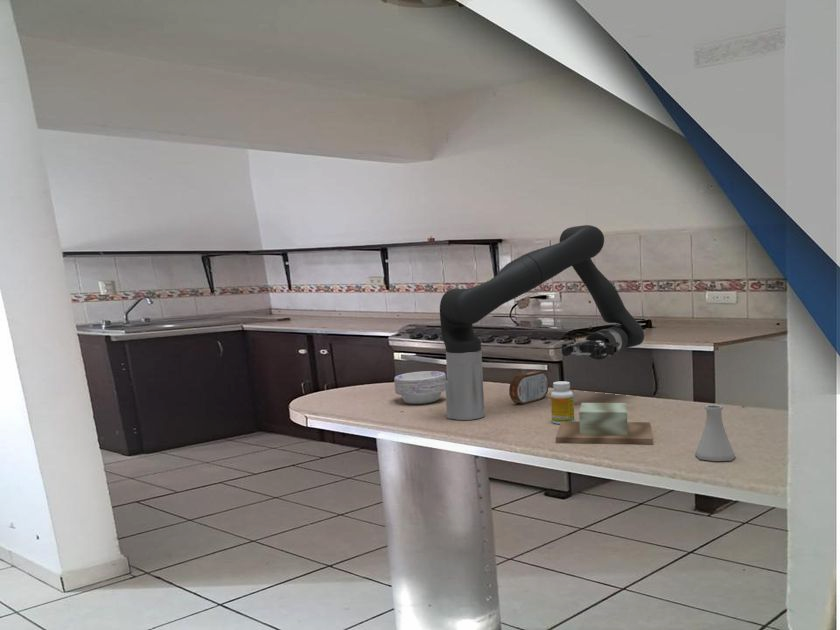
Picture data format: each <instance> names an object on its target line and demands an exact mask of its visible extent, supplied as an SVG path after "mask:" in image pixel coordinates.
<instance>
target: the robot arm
mask: <svg viewBox="0 0 840 630" xmlns="http://www.w3.org/2000/svg"><path fill="white" fill-rule="evenodd" d="M604 245H605V235H604V234H603V232H602V230H600V228H598V226H597V227H596V226H594V225H591V224H589V225H588V224H584V225H577V226H570V227H567V228H566V229H564V230H563V231H562V232H561V234H560V237H559V242H557V243H555V244H551V245H548V246H544V247H541V248H538V249H534V250H532V251H529V252H527V253H525V254H523V255H521V256H519V257H517V258H515V259H513V260H511V261H510V262H508V263H507V264H505V265H504V266H503V267H502V268H501V269H500V270H499V272H498V273H496V275H494V277H493V278H491V279H488V281H485V282H483V283H480V284H479V285H478V284H477V286H476V285H475V286H473V287H470V288H452V289H449V290H448V291H446V292H445V293H444V294H443V296H442V297H441V299H440V302H439V318H440V319H439V320H440V331H441V338H442V342H443V344H444V346H445V348H444V349H445V363H446V382H445V388H446V390H445V403H446V404H445V405H446V418H447V419H452V420H457V421H470V420H471V421H472V420H477V419H481V418H484V417H485V394H484V377H483V375H484V374H483V358H482V357H483V355H482V340H481V339H480V338H479V337H478V336H477V334H476V333H475V331H474V327H473V324H476V323H478V322H479V321H481V320H483V319H484V318H485V317H487V316H488V315H489V314H491V313H493V311H495V310H497V309H498V308H499V307H501V306H502V305H504V304H506V303H508V302H511V301H512V300H514V299H517V298H518V297H520V296H522V295H523V294H526V293H528V292H530V291H532V290H533V289H535V288H537V287H540V286H541V285H542V284H544V283H546V282H547V281H549V280H551V279H553V278H554V277H556V276H557V275H559V274H561V273H562V272H564V271H565V270H567V269H570V268H571V267H572V268H573V270H574V271H575V273H576V274H577V276H578V277H579V278H580V280H581V281H582V283H583V285H584V286H585V288H586V289H587V290H588V292H589V294H590V295H591V298H592V299H593V301H594V304H595V306H596V307H597V310H598V312H599V314H600V316H601V318H602V320H603V322H605V323H608V324H619V325H615V326H612V327H608V328H604V329H600V330H598V331H594V332H591V333H590V334H589V335H587V336H586V338H585V339H584V340H581V341H570V342H566V343H562V344H561V354H562V357H567V356H570V355H575V356H583V355H585V356H589V357H590V358H591V359H594V360H599V361H600V360H604V359H606V358H608V357H611V356H615V355H617V354H619V353H620V352H621V351H622V350H625V349H628V348H634V347H636V346H641V344H643V342H644V339H645V332H644V330H643V328H642V326H641V324H640V323H639V322H638V321H637V320H636V319H635V318H634V316H632V314H631V313H630V312H629V310H628V309H627V308H626V307H625V304H624V302H623V300H622V298H621V296H620V294H619V291H618V290H617V288H616V287H615V286H614V285H613V284H612V282H611V281H610V280H609V279H608V278H607V277H606V276H605V275H604V274H603V273H602V272H601V271H600V270H599V268H598V267H597V266H596V265H595V263H594V262H593V259H592V258H594V257H596V256H598V254H599V253H600V252H601V251H602V249H603V248H604Z"/></svg>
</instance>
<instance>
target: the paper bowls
mask: <svg viewBox="0 0 840 630" xmlns="http://www.w3.org/2000/svg"><path fill="white" fill-rule="evenodd" d="M393 378H394V381H393V382H394V390H395V394H397V395H400V396H401V398H402V400H403V401H404V402H405V403H407V404H412V405H424V404H430V403H431V404H432V403H434V402H437V401H438V400H440V397H441V394H442V393H443V392H444V391H445V392H446V388H445V382H446V381H447V373H445V372H443V371H436V370H428V371H427V370H424V371H422V370H421V371H413V372H406V373H403V374H402V373H401V374H399V375H395V377H393Z"/></svg>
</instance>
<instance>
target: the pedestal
mask: <svg viewBox="0 0 840 630" xmlns="http://www.w3.org/2000/svg"><path fill="white" fill-rule="evenodd" d="M578 418H579V419H578V420H579V421H574V422H569V421H561V424H559V427H558V429H557V433H556V436H555V443H557V444H559V443H560V444H600V445H601V444H604V445H605V444H608V445H609V444H610V445H611V444H612V445H616V444H617V445H654V438H653V432H652V426H651V425H652V424H651V422H649V421H639V422H638V421H628V403H627V402H581V403H580V407H579V411H578Z"/></svg>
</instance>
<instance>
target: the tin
mask: <svg viewBox="0 0 840 630" xmlns="http://www.w3.org/2000/svg"><path fill="white" fill-rule="evenodd" d="M548 391H549V377H548V375H547V373H546V372H544V371H541V370H535V369H534V370H529V371H525V372H520V373H517V374H515V375H514V376H513V377H512V379H511V381H510V383H509V389H508V393H509V397H510V400H511V401H512V402H513V403H515V404H521V405H525V404H528V403H533V402H537V401H541V400H543V399H544V398H545V397H546V396H547V394H548Z"/></svg>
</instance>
